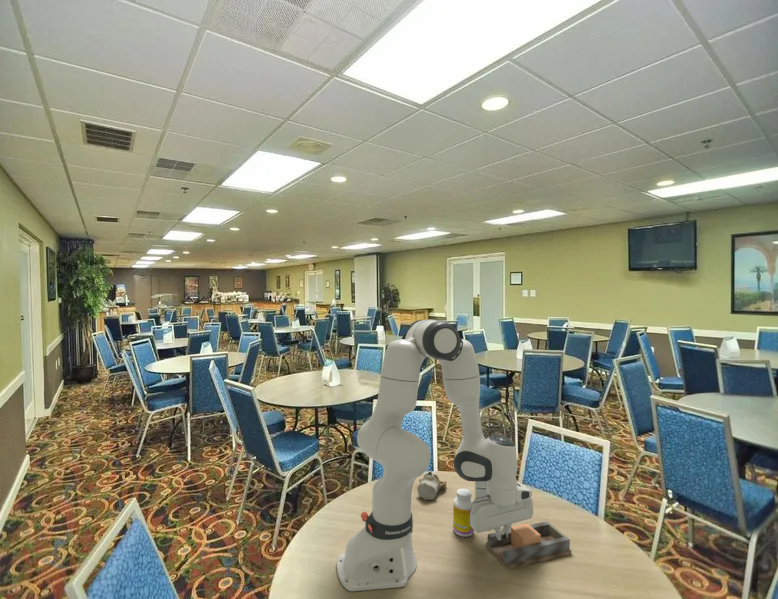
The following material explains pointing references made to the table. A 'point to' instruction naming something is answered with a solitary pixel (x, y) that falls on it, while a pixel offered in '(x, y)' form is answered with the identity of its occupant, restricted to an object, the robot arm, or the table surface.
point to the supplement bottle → (462, 513)
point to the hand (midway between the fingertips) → (501, 538)
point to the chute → (530, 547)
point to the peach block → (524, 535)
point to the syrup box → (480, 489)
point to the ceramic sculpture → (430, 486)
